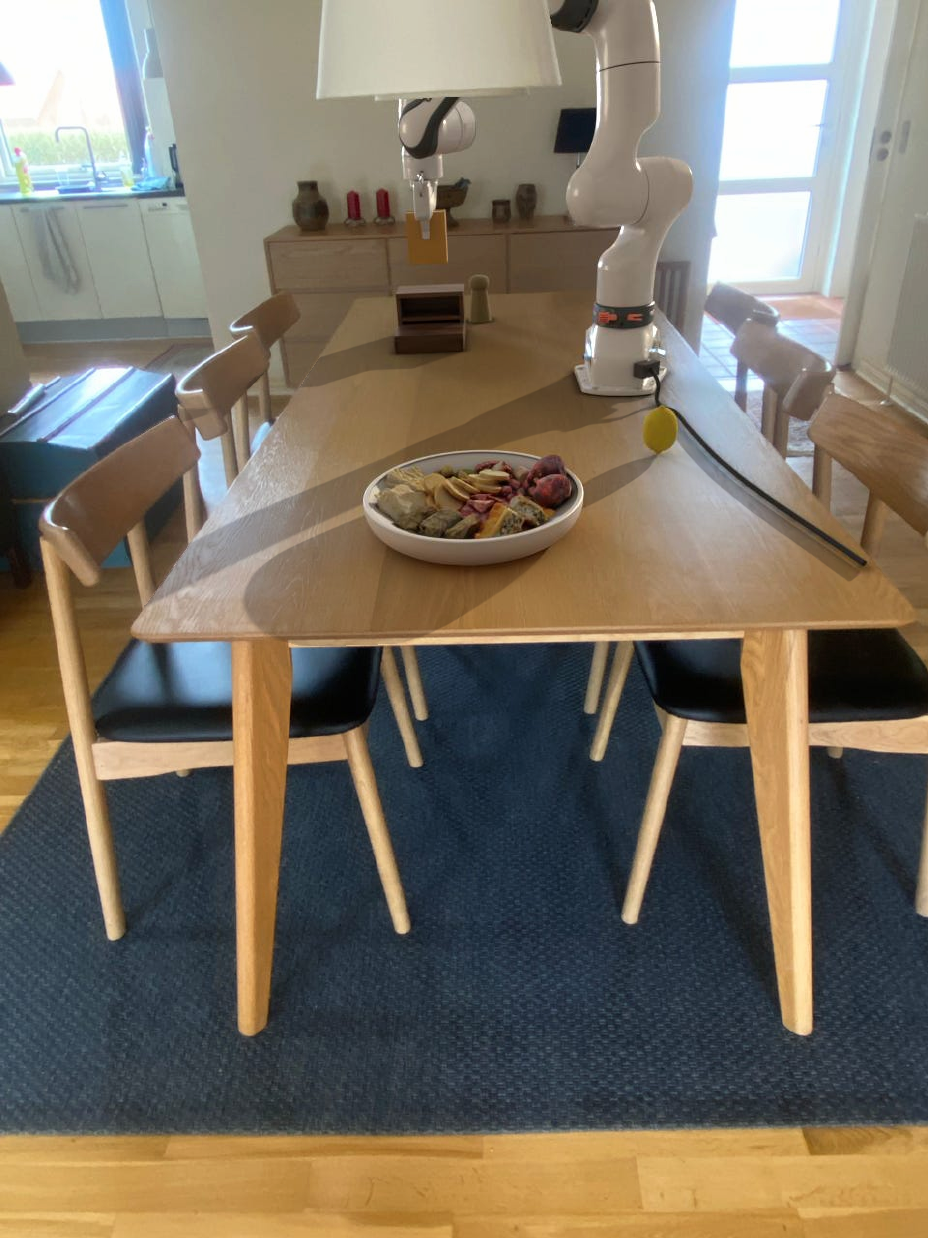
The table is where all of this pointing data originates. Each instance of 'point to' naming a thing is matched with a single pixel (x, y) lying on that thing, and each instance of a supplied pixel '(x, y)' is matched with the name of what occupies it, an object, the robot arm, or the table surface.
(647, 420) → the lemon
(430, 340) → the wooden l-shaped block
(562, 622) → the table surface
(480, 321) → the tan pawn game piece
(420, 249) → the book
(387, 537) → the bowl
